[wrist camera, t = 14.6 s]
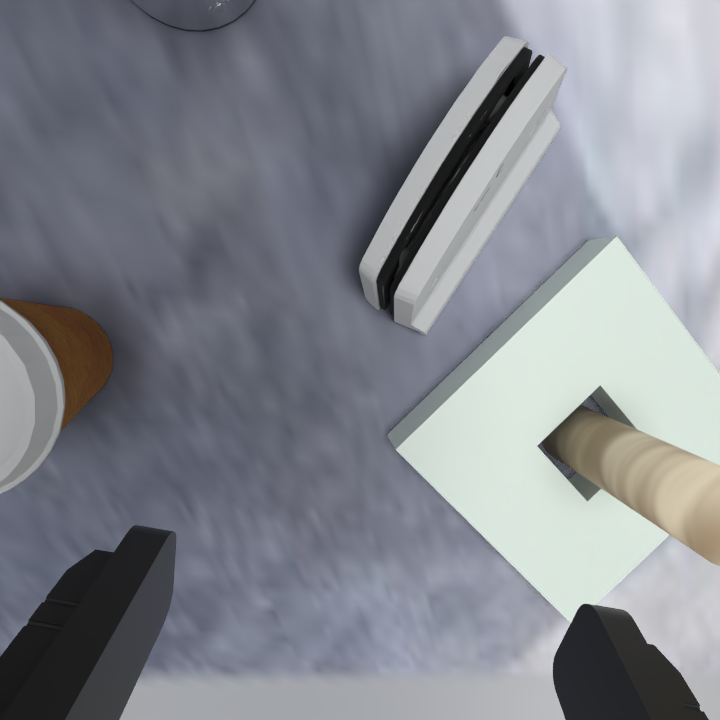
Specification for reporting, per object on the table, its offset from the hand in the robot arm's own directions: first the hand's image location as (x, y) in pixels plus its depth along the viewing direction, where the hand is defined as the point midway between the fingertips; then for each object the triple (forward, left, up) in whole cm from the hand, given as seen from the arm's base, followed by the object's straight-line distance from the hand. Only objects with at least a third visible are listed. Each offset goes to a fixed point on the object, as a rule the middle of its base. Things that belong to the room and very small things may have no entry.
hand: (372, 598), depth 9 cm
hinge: (-2, +14, -24) cm, 28 cm away
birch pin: (+17, +10, -24) cm, 31 cm away
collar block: (+17, +10, -24) cm, 31 cm away
